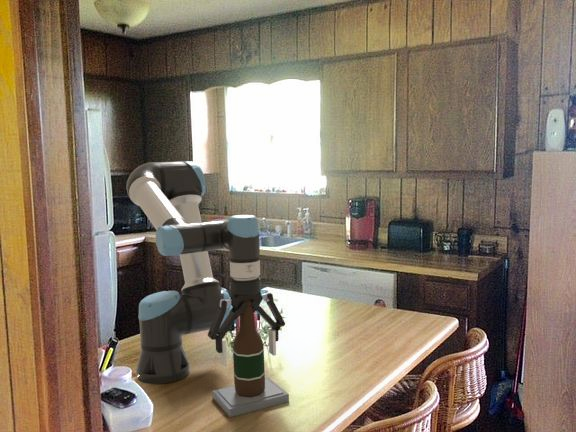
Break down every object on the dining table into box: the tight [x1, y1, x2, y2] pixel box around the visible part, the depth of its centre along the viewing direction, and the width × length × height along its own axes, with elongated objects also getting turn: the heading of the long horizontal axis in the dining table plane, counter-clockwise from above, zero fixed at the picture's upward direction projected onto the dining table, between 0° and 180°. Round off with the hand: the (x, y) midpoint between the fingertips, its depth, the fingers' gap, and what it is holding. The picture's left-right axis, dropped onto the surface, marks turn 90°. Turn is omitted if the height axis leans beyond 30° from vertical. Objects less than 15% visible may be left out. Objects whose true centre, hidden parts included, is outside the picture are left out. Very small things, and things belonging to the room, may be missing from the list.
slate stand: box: [212, 377, 290, 418], centre depth 137 cm, size 12×16×2 cm
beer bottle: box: [232, 300, 266, 397], centre depth 136 cm, size 8×8×24 cm
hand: (248, 359), depth 136 cm, fingers open, 13 cm apart
